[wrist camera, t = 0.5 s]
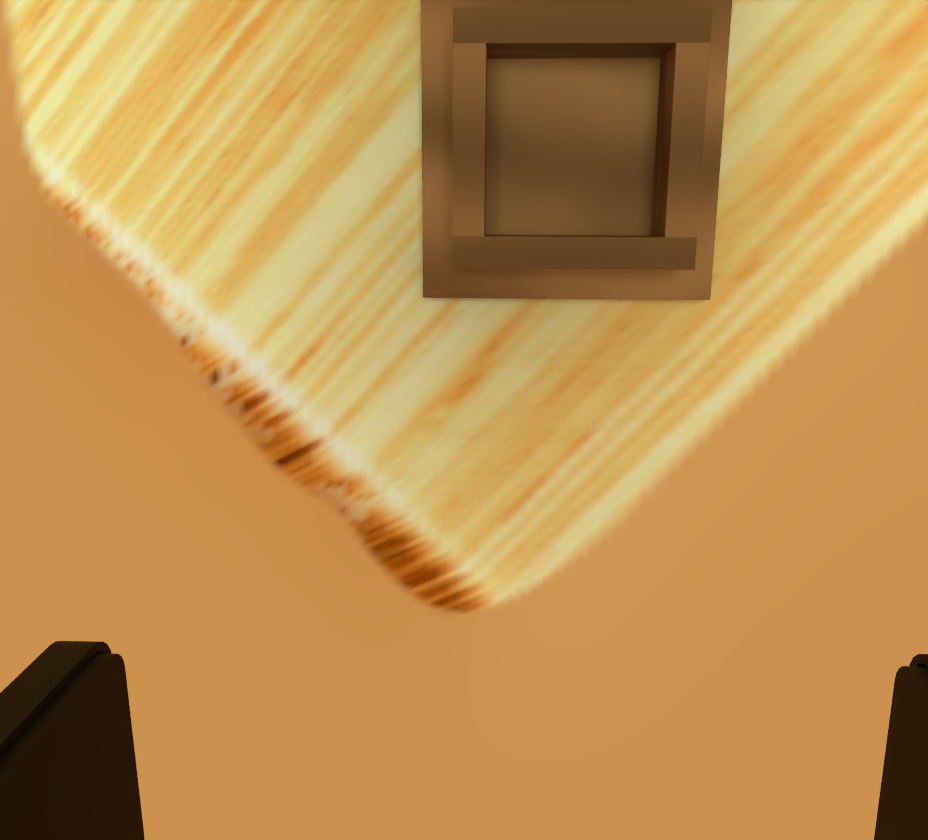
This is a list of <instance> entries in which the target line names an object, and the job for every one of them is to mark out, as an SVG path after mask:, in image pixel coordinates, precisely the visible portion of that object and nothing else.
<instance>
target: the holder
mask: <svg viewBox="0 0 928 840" xmlns="http://www.w3.org/2000/svg"><path fill="white" fill-rule="evenodd" d="M731 8H732V0H421V34H422V184H423V297H435V298H551V299H668V300H710V295H711V281H712V267H713V254H714V240H715V226H716V213H717V199H718V186H719V172H720V158H721V145H722V131H723V117H724V104H725V90H726V77H727V63H728V49H729V36H730V22H731Z"/></svg>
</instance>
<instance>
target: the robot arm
mask: <svg viewBox="0 0 928 840" xmlns="http://www.w3.org/2000/svg"><path fill="white" fill-rule="evenodd" d="M0 840H144V831H143V821H142V813H141V804H140V796H139V786H138V778H137V769H136V761H135V752H134V743H133V734H132V725H131V717H130V707H129V699H128V690H127V681H126V672H125V665H124V661H123V659H122V657H121V656H120V655H119V654H111V650H110V648H109V646H108V645H107V644H106V643H104V642H85V641H80V642H79V641H57V642H54V643H53V644H51V645H50V646H49V647H48V648H47V649H46V650H45V651H44V652H43V653H42V654H41V655H40V656H38V658H36V660H34V661H33V662H32V663H31V664H30V665H29V666H28V667H27V668H26V669H25V670H24V671H23V672H22V673H21V674H20V675H19V676H18V677H17V678H16V679H15V680H14V681H12V682H11V683H10V684H9V686H7V687H6V688H5V689H4V690H3V691H2V692H1V693H0ZM874 840H928V654H918V655H916V656H915V657H913V659H912V661H911V663H910V666H902V667H901V668H899V670H898V671H897V673H896V677H895V683H894V690H893V698H892V706H891V714H890V721H889V729H888V736H887V744H886V752H885V759H884V767H883V775H882V782H881V791H880V798H879V806H878V813H877V821H876V829H875V836H874Z"/></svg>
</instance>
